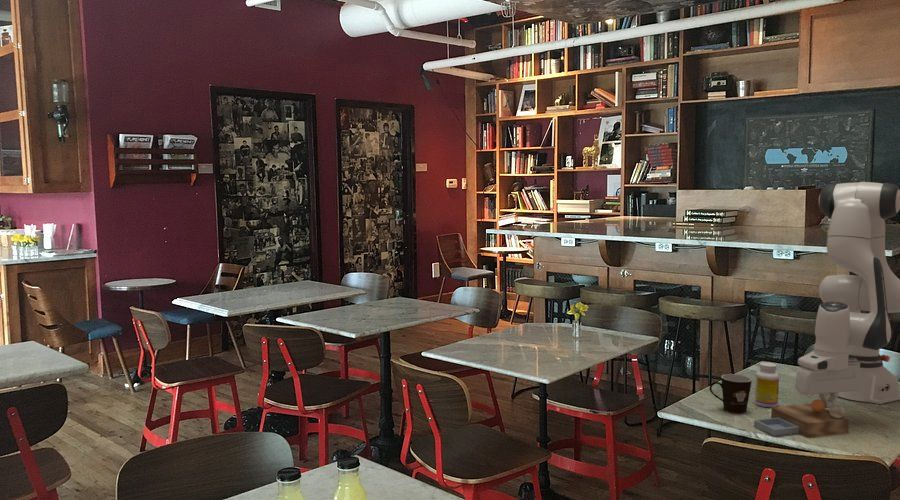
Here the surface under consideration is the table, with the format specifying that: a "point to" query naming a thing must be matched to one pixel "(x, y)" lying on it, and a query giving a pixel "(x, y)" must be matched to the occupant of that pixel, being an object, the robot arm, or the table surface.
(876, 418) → the table surface
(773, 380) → the supplement bottle
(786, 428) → the dish
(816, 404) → the ball
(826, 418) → the wooden cutting board
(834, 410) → the cream ball
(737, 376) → the coffee mug
